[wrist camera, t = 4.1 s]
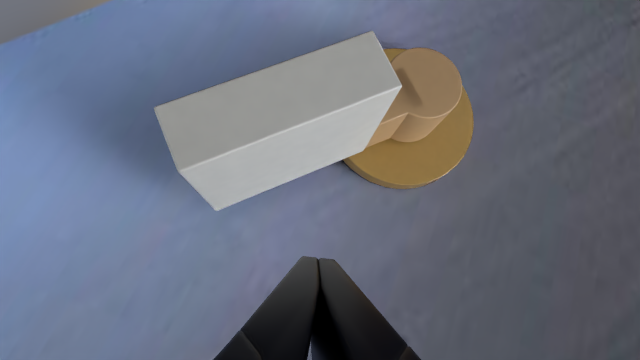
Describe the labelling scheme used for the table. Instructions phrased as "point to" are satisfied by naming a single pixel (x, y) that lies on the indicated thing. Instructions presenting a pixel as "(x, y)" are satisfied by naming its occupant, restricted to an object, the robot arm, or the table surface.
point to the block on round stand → (305, 116)
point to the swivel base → (417, 150)
